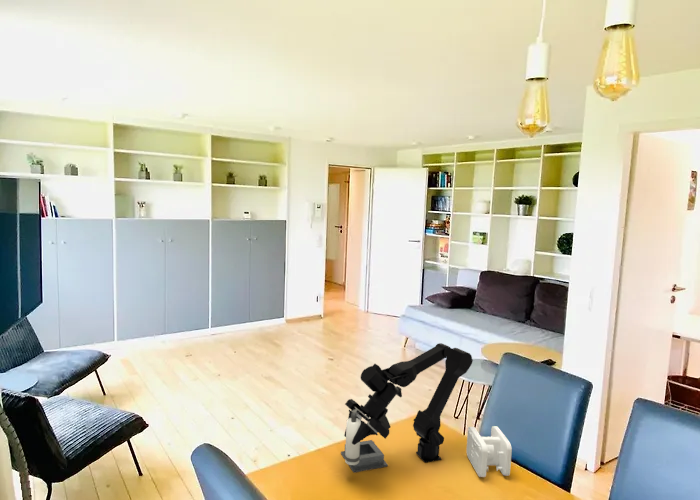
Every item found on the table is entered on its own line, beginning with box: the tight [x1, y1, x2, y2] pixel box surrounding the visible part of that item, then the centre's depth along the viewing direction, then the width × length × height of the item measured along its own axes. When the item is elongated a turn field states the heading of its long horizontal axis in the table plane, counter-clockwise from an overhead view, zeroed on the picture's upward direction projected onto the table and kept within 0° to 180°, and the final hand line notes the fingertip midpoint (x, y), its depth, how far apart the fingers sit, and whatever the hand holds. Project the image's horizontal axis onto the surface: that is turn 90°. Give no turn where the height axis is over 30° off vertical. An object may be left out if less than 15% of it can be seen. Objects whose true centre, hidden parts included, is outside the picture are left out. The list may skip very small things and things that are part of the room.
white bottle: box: [344, 412, 362, 466], centre depth 142 cm, size 5×5×15 cm
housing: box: [340, 439, 389, 474], centre depth 155 cm, size 12×12×4 cm
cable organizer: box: [466, 425, 513, 478], centre depth 152 cm, size 15×11×12 cm
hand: (349, 440), depth 142 cm, fingers closed on white bottle, 4 cm apart
